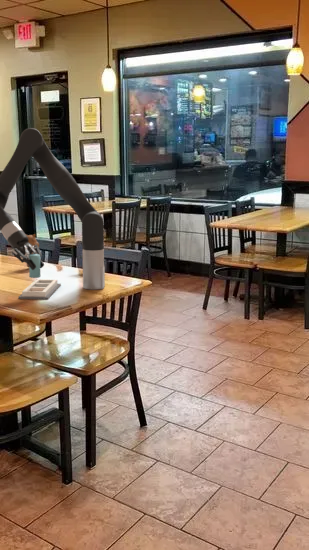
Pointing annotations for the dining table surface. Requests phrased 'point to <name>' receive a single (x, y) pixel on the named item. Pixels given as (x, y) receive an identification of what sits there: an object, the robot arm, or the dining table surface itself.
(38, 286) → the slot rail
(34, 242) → the cat ice cream
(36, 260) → the teal peg
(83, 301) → the dining table surface
